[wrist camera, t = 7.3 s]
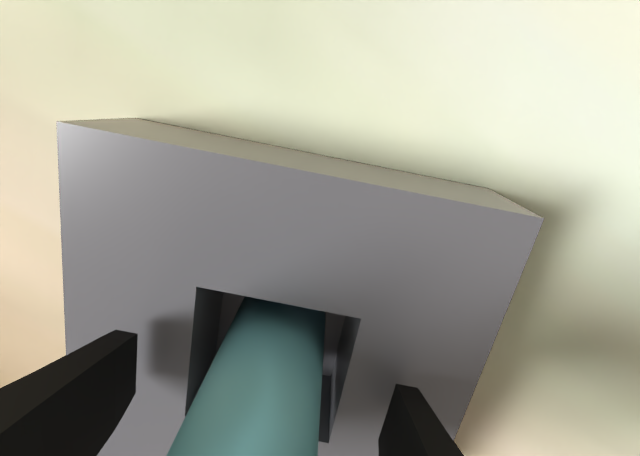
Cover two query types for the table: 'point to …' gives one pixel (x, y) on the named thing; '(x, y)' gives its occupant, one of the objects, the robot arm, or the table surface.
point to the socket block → (280, 270)
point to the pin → (260, 387)
